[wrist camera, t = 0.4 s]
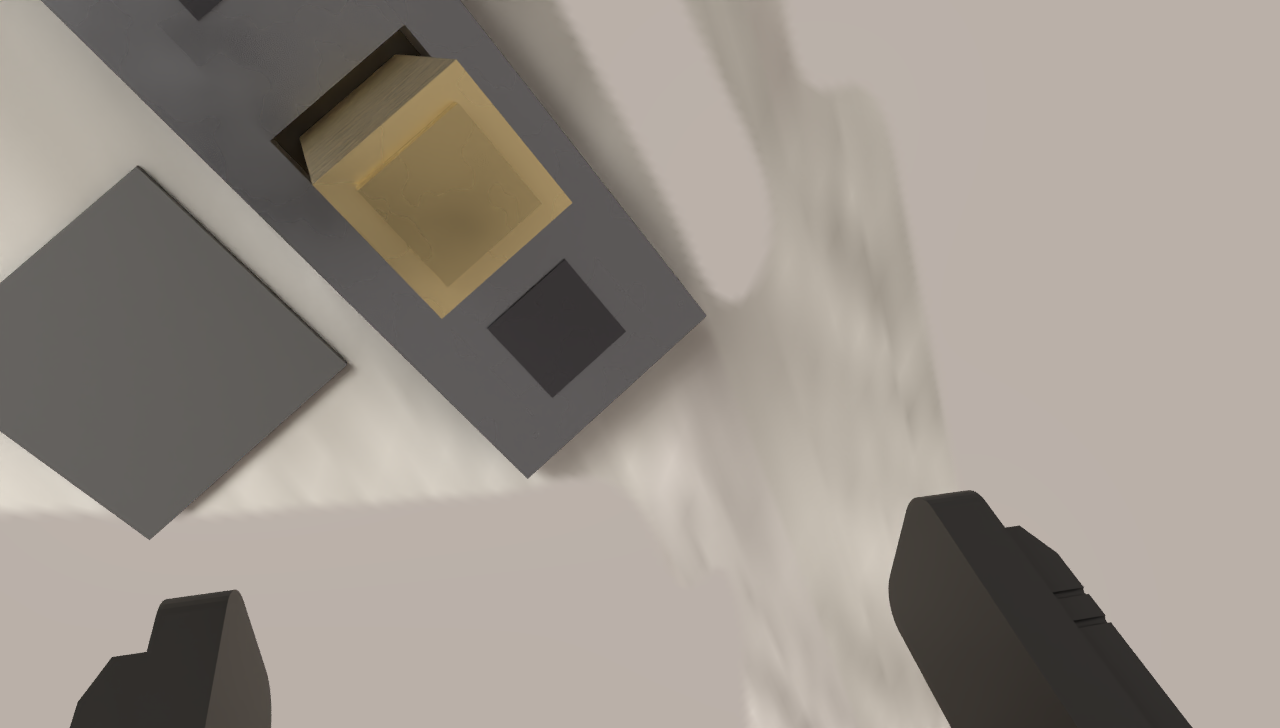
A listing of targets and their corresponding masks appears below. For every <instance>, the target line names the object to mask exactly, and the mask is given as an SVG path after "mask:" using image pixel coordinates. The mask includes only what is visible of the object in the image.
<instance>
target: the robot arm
mask: <svg viewBox="0 0 1280 728" xmlns="http://www.w3.org/2000/svg"><path fill="white" fill-rule="evenodd" d="M1083 588H1084V587H1083V586H1082V585H1081V583H1080V582H1079V581H1078V579H1077V578H1076V577H1075V576H1074V574H1073V573H1072V572H1071V570H1070V569H1069V568H1068V567H1067V565H1066V564H1065V563H1064V561H1063V560H1062V559H1061V557H1060V556H1059V555H1058V554H1057V553H1056V552H1055V551H1054V550H1052V549H1051V548H1049V547H1048V546H1046V545H1045V544H1044V543H1042V542H1041V541H1040V540H1038V539H1037V538H1036V537H1034V536H1033V535H1031V534H1030V533H1028V532H1027V531H1026V530H1025V529H1023V528H1022V527H1021V526H1014V527H1007V528H1005V527H1004V526H1003V525H1002V523H1001V522H1000V520H999V519H998V518H997V516H996V515H995V514H994V512H993V511H992V510H991V508H990V507H989V505H988V504H987V503H986V502H985V500H984V499H983V498H982V497H981V496H980V495H979V494H978V493H976V492H974V491H971V490H968V491H960V492H953V493H946V494H939V495H932V496H924V497H917V498H914V499H912V500H911V501H910V503H909V505H908V507H907V510H906V514H905V518H904V522H903V526H902V530H901V534H900V538H899V542H898V546H897V550H896V554H895V558H894V562H893V566H892V570H891V574H890V579H889V601H890V607H891V611H892V615H893V618H894V621H895V623H896V626H897V628H898V630H899V632H900V634H901V636H902V637H903V639H904V641H905V643H906V645H907V647H908V649H909V650H910V652H911V654H912V656H913V658H914V660H915V662H916V663H917V665H918V667H919V669H920V671H921V673H922V674H923V676H924V678H925V680H926V682H927V684H928V686H929V687H930V689H931V691H932V693H933V695H934V697H935V699H936V700H937V702H938V704H939V706H940V708H941V710H942V711H943V713H944V715H945V717H946V719H947V721H948V723H949V724H950V726H951V728H1192V727H1191V725H1190V724H1189V723H1188V722H1187V720H1186V719H1185V718H1184V716H1183V715H1182V714H1181V713H1180V711H1179V710H1178V709H1177V707H1176V706H1175V705H1174V703H1173V702H1172V701H1171V700H1170V698H1169V697H1168V696H1167V694H1166V693H1165V692H1164V691H1163V689H1162V688H1161V687H1160V685H1159V684H1158V683H1157V682H1156V680H1155V679H1154V678H1153V676H1152V675H1151V674H1150V673H1149V671H1148V670H1147V669H1146V668H1145V666H1144V665H1143V663H1142V662H1141V661H1140V660H1139V658H1138V657H1137V656H1136V654H1135V653H1134V652H1133V651H1132V649H1131V648H1130V647H1129V645H1128V644H1127V643H1126V642H1125V640H1124V639H1123V638H1122V636H1121V635H1120V634H1119V632H1118V631H1117V630H1116V628H1115V627H1114V626H1113V625H1112V623H1107V622H1106V620H1105V614H1104V613H1103V612H1102V611H1101V609H1100V608H1099V607H1098V605H1097V604H1096V603H1095V601H1094V600H1093V599H1092V598H1091V596H1090V595H1089V594H1085V593H1084V590H1083ZM70 728H271V695H270V687H269V681H268V676H267V672H266V669H265V666H264V663H263V660H262V657H261V654H260V650H259V647H258V644H257V641H256V638H255V635H254V632H253V629H252V626H251V623H250V620H249V617H248V613H247V611H246V607H245V604H244V601H243V599H242V596H241V594H240V593H239V591H237V590H230V591H223V592H215V593H208V594H201V595H194V596H187V597H179V598H173V599H166V600H164V601H163V602H162V603H161V604H160V606H159V609H158V611H157V615H156V618H155V622H154V626H153V630H152V634H151V638H150V641H149V645H148V649H147V652H144V653H137V654H131V655H123V656H117V657H112V658H111V659H110V661H109V662H108V663H107V665H106V666H105V667H104V669H103V670H102V671H101V672H100V674H99V675H98V677H97V678H96V679H95V680H94V682H93V683H92V684H91V686H90V687H89V688H88V690H87V691H86V692H85V694H84V695H83V696H82V697H81V699H80V700H79V701H78V703H77V707H76V710H75V713H74V716H73V719H72V723H71V726H70Z"/></svg>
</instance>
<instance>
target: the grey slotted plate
mask: <svg viewBox="0 0 1280 728" xmlns="http://www.w3.org/2000/svg"><path fill="white" fill-rule="evenodd" d="M41 1H42V2H43V3H44V4H45V5H46V6H47V7H48V8H49V9H50V10H51V11H52V12H53V13H54V14H55V15H56V16H57V17H59V18H60V19H61V20H62V21H63V22H64V23H65V24H66V25H67V26H68V27H69V28H70V29H71V30H72V31H73V32H74V33H75V34H76V35H77V36H78V37H79V38H80V39H81V40H82V41H83V42H84V43H85V44H86V45H87V46H88V47H89V48H90V49H91V50H92V51H93V52H94V53H95V54H96V55H97V56H98V57H99V58H100V59H101V60H102V61H103V62H104V63H105V64H106V65H107V66H108V67H109V68H110V69H111V70H112V71H113V72H114V73H115V74H116V75H117V76H119V77H120V78H121V79H122V80H123V81H124V82H125V83H126V84H127V85H128V86H129V87H130V88H131V89H132V90H133V91H134V92H135V93H136V94H137V95H138V96H139V97H140V98H141V99H142V100H143V101H144V102H145V103H146V104H147V105H148V106H149V107H150V108H151V109H152V110H153V111H154V112H155V113H156V114H157V115H158V116H159V117H160V118H161V119H162V120H163V121H164V122H165V123H166V124H167V125H168V126H169V127H170V128H171V129H172V130H173V131H174V132H175V133H176V134H178V135H179V136H180V137H181V138H182V139H183V140H184V141H185V142H186V143H187V144H188V145H189V146H190V147H191V148H192V149H193V150H194V151H195V152H196V153H197V154H198V155H199V156H200V157H201V158H202V159H203V160H204V161H205V162H206V163H207V164H208V165H209V166H210V167H211V168H212V169H213V170H214V171H215V172H216V173H217V174H218V175H219V176H220V177H221V178H222V179H223V180H224V181H225V182H226V183H227V184H228V185H229V186H230V187H231V188H232V189H233V190H234V191H235V192H237V193H238V194H239V195H240V196H241V197H242V198H243V199H244V200H245V201H246V202H247V203H248V204H249V205H250V206H251V207H252V208H253V209H254V210H255V211H256V212H257V213H258V214H259V215H260V216H261V217H262V218H263V219H264V220H265V221H266V222H267V223H268V224H269V225H270V226H271V227H272V228H273V229H274V230H275V231H276V232H277V233H278V234H279V235H280V236H281V237H282V238H283V239H284V240H285V241H286V242H287V243H288V244H289V245H290V246H291V247H292V248H293V249H294V250H295V251H297V252H298V253H299V254H300V255H301V256H302V257H303V258H304V259H305V260H306V261H307V262H308V263H309V264H310V265H311V266H312V267H313V268H314V269H315V270H316V271H317V272H318V273H319V274H320V275H321V276H322V277H323V278H324V279H325V280H326V281H327V282H328V283H329V284H330V285H331V286H332V287H333V288H334V289H335V290H336V291H337V292H338V293H339V294H340V295H341V296H342V297H343V298H344V299H345V300H346V301H347V302H348V303H349V304H350V305H351V306H352V307H353V308H354V309H356V310H357V311H358V312H359V313H360V314H361V315H362V316H363V317H364V318H365V319H366V320H367V321H368V322H369V323H370V324H371V325H372V326H373V327H374V328H375V329H376V330H377V331H378V332H379V333H380V334H381V335H382V336H383V337H384V338H385V339H386V340H387V341H388V342H389V343H390V344H391V345H392V346H393V347H394V348H395V349H396V350H397V351H398V352H399V353H400V354H401V355H402V356H403V357H404V358H405V359H406V360H407V361H408V362H409V363H410V364H411V365H412V366H413V367H414V368H416V369H417V370H418V371H419V372H420V373H421V374H422V375H423V376H424V377H425V378H426V379H427V380H428V381H429V382H430V383H431V384H432V385H433V386H434V387H435V388H436V389H437V390H438V391H439V392H440V393H441V394H442V395H443V396H444V397H445V398H446V399H447V400H448V401H449V402H450V403H451V404H452V405H453V406H454V407H455V408H456V409H457V410H458V411H459V412H460V413H461V414H462V415H463V416H464V417H465V418H466V419H467V420H468V421H469V422H470V423H471V424H472V425H473V426H475V427H476V428H477V429H478V430H479V431H480V432H481V433H482V434H483V435H484V436H485V437H486V438H487V439H488V440H489V441H490V442H491V443H492V444H493V445H494V446H495V447H496V448H497V449H498V450H499V451H500V452H501V453H502V454H503V455H504V456H505V457H506V458H507V459H508V460H509V461H510V462H511V463H512V464H513V465H514V466H515V467H516V468H517V469H518V470H519V471H520V472H521V473H522V474H523V475H524V476H525V477H526V478H527V479H528V478H529V477H530V476H531V475H532V474H534V473H535V472H536V471H537V470H538V469H539V468H540V467H541V466H542V465H543V464H545V463H546V462H547V461H548V460H549V459H550V458H551V457H552V456H553V455H554V454H556V453H557V452H558V451H559V450H560V449H561V448H562V447H563V446H564V445H565V444H567V443H568V442H569V441H570V440H571V439H572V438H573V437H574V436H575V435H576V434H577V433H579V432H580V431H581V430H582V429H583V428H584V427H585V426H586V425H587V424H588V423H590V422H591V421H592V420H593V419H594V418H595V417H596V416H597V415H598V414H599V413H601V412H602V411H603V410H604V409H605V408H606V407H607V406H608V405H609V404H610V403H612V402H613V401H614V400H615V399H616V398H617V397H618V396H619V395H620V394H621V393H623V392H624V391H625V390H626V389H627V388H628V387H629V386H630V385H631V384H632V383H634V382H635V381H636V380H637V379H638V378H639V377H640V376H641V375H642V374H643V373H645V372H646V371H647V370H648V369H649V368H650V367H651V366H652V365H653V364H654V363H656V362H657V361H658V360H659V359H660V358H661V357H662V356H663V355H664V354H665V353H667V352H668V351H669V350H670V349H671V348H672V347H673V346H674V345H675V344H676V343H677V342H679V341H680V340H681V339H682V338H683V337H684V336H685V335H686V334H687V333H688V332H690V331H691V330H692V329H693V328H694V327H695V326H696V325H697V324H698V323H699V322H701V321H702V320H703V319H704V318H705V317H706V314H705V313H704V312H703V310H702V309H701V308H700V307H699V305H698V304H697V303H696V301H695V300H694V299H693V298H692V296H691V295H690V294H689V292H688V291H687V290H686V289H685V287H684V286H683V285H682V284H681V282H680V281H679V280H678V278H677V277H676V276H675V275H674V273H673V272H672V271H671V269H670V268H669V267H668V266H667V264H666V263H665V262H664V261H663V259H662V258H661V257H660V255H659V254H658V253H657V252H656V250H655V249H654V248H653V246H652V245H651V244H650V243H649V241H648V240H647V239H646V237H645V236H644V235H643V234H642V232H641V231H640V230H639V229H638V227H637V226H636V225H635V223H634V222H633V221H632V220H631V218H630V217H629V216H628V214H627V213H626V212H625V211H624V209H623V208H622V207H621V206H620V204H619V203H618V202H617V200H616V199H615V198H614V197H613V195H612V194H611V193H610V191H609V190H608V189H607V188H606V186H605V185H604V184H603V182H602V181H601V180H600V179H599V177H598V176H597V175H596V174H595V172H594V171H593V170H592V168H591V167H590V166H589V165H588V163H587V162H586V161H585V159H584V158H583V157H582V156H581V154H580V153H579V152H578V151H577V149H576V148H575V147H574V145H573V144H572V143H571V142H570V140H569V139H568V138H567V136H566V135H565V134H564V133H563V131H562V130H561V129H560V127H559V126H558V125H557V124H556V122H555V121H554V120H553V119H552V117H551V116H550V115H549V113H548V112H547V111H546V110H545V108H544V107H543V106H542V104H541V103H540V102H539V101H538V99H537V98H536V97H535V96H534V94H533V93H532V92H531V90H530V89H529V88H528V87H527V85H526V84H525V83H524V81H523V80H522V79H521V78H520V76H519V75H518V74H517V72H516V71H515V70H514V69H513V67H512V66H511V65H510V64H509V62H508V61H507V60H506V58H505V57H504V56H503V55H502V53H501V52H500V51H499V49H498V48H497V47H496V46H495V44H494V43H493V42H492V41H491V39H490V38H489V37H488V35H487V34H486V33H485V32H484V30H483V29H482V28H481V26H480V25H479V24H478V23H477V21H476V20H475V19H474V17H473V16H472V15H471V14H470V12H469V11H468V10H467V9H466V7H465V6H464V5H463V3H462V2H461V1H460V0H41ZM399 29H400V30H401V32H402V33H403V34H404V35H405V36H406V38H407V39H408V40H409V41H410V43H411V44H412V45H413V46H414V47H415V49H416V50H417V51H418V52H419V53H420V55H421V56H422V57H433V58H445V59H457V61H458V62H459V63H460V64H461V66H462V67H463V68H464V69H465V71H466V72H467V73H468V74H469V76H470V77H471V78H472V79H473V80H474V82H475V83H476V84H477V85H478V87H479V88H480V89H481V90H482V92H483V93H484V94H485V95H486V96H487V98H488V99H489V100H490V101H491V103H492V104H493V105H494V106H495V108H496V109H497V110H498V111H499V113H500V114H501V115H502V116H503V117H504V119H505V120H506V121H507V122H508V124H509V125H510V126H511V127H512V129H513V130H514V131H515V132H516V133H517V135H518V136H519V137H520V138H521V140H522V141H523V142H524V143H525V145H526V146H527V147H528V148H529V150H530V151H531V152H532V153H533V154H534V156H535V157H536V158H537V159H538V161H539V162H540V163H541V164H542V166H543V167H544V168H545V169H546V170H547V172H548V173H549V174H550V175H551V177H552V178H553V179H554V180H555V182H556V183H557V184H558V185H559V187H560V188H561V189H562V190H563V191H564V193H565V194H566V195H567V196H568V198H569V199H570V200H571V201H572V204H571V205H569V206H568V207H567V208H566V209H565V210H564V211H563V212H562V213H560V214H559V215H558V216H557V217H556V218H555V219H554V220H553V221H551V222H550V223H549V224H548V225H547V226H546V227H545V228H544V229H542V230H541V231H540V232H539V233H538V234H537V235H536V236H535V237H533V238H532V239H531V240H530V241H529V242H528V243H527V244H526V245H525V246H523V247H522V248H521V249H520V250H519V251H518V252H517V253H516V254H514V255H513V256H512V257H511V258H510V259H509V260H508V261H507V262H505V263H504V264H503V265H502V266H501V267H500V268H499V269H498V270H496V271H495V272H494V273H493V274H492V275H491V276H490V277H489V278H487V279H486V280H485V281H484V282H483V283H482V284H481V285H480V286H478V287H477V288H476V289H475V290H474V291H473V292H472V293H471V294H469V295H468V296H467V297H466V298H465V299H464V300H463V301H462V302H460V303H459V304H458V305H457V306H456V307H455V308H454V309H453V310H451V311H450V312H449V313H448V314H447V315H446V316H445V317H444V318H442V319H441V318H440V317H439V316H438V314H437V313H436V312H435V311H434V310H433V309H432V308H431V307H430V306H429V305H428V304H427V303H426V302H425V301H424V300H423V299H422V298H421V297H420V296H419V295H418V294H417V293H416V292H415V291H414V290H413V289H412V288H411V286H410V285H409V284H408V283H407V282H406V281H405V280H404V279H403V278H402V277H401V276H400V275H399V274H398V273H397V272H396V271H395V270H394V269H393V268H392V267H391V266H390V265H389V264H388V263H387V262H386V261H385V260H384V258H383V257H382V256H381V255H380V254H379V253H378V252H377V251H376V250H375V249H374V248H373V247H372V246H371V245H370V244H369V243H368V242H367V241H366V240H365V239H364V238H363V237H362V236H361V235H360V234H359V233H358V232H357V231H356V229H355V228H354V227H353V226H352V225H351V224H350V223H349V222H348V221H347V220H346V219H345V218H344V217H343V216H342V215H341V214H340V213H339V212H338V211H337V210H336V209H335V208H334V207H333V206H332V205H331V204H330V203H329V201H328V200H327V199H326V198H325V197H324V196H323V195H322V194H321V193H320V192H319V191H318V190H317V189H316V188H315V187H314V186H313V185H312V182H311V178H310V176H309V175H308V174H307V173H306V172H305V171H304V170H303V169H302V168H301V167H300V166H299V164H298V163H297V162H296V161H295V160H294V159H293V158H292V157H291V156H290V155H289V154H288V153H287V152H286V151H285V150H284V149H283V148H282V147H281V146H280V145H279V144H278V143H277V142H276V141H275V139H274V137H275V136H276V135H277V134H278V133H280V132H281V131H282V130H283V129H284V128H285V127H286V126H288V125H289V124H290V123H291V122H292V121H293V120H295V119H296V118H297V117H298V116H299V115H300V114H302V113H303V112H304V111H305V110H306V109H307V108H308V107H310V106H311V105H312V104H313V103H314V102H315V101H317V100H318V99H319V98H320V97H321V96H322V95H324V94H325V93H326V92H327V91H328V90H329V89H330V88H332V87H333V86H334V85H335V84H336V83H337V82H339V81H340V80H341V79H342V78H343V77H344V76H346V75H347V74H348V73H349V72H350V71H351V70H353V69H354V68H355V67H356V66H357V65H358V64H359V63H361V62H362V61H363V60H364V59H365V58H366V57H368V56H369V55H370V54H371V53H372V52H373V51H375V50H376V49H377V48H378V47H379V46H380V45H381V44H383V43H384V42H385V41H386V40H387V39H388V38H390V37H391V36H392V35H393V34H394V33H395V32H397V31H398V30H399Z"/></svg>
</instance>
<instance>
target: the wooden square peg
mask: <svg viewBox="0 0 1280 728" xmlns="http://www.w3.org/2000/svg"><path fill="white" fill-rule="evenodd" d="M299 138H300V141H301V145H302V149H303V152H304V156H305V160H306V163H307V167H308V171H309V174H310V178H311V182H312V185H313V186H314V187H315V188H316V189H317V190H318V191H319V192H320V193H321V194H322V195H323V196H324V197H325V198H326V199H327V200H328V201H329V203H330V204H331V205H332V206H333V207H334V208H335V209H336V210H337V211H338V212H339V213H340V214H341V215H342V216H343V217H344V218H345V219H346V220H347V221H348V222H349V223H350V224H351V225H352V226H353V227H354V228H355V229H356V231H357V232H358V233H359V234H360V235H361V236H362V237H363V238H364V239H365V240H366V241H367V242H368V243H369V244H370V245H371V246H372V247H373V248H374V249H375V250H376V251H377V252H378V253H379V254H380V255H381V256H382V257H383V258H384V260H385V261H386V262H387V263H388V264H389V265H390V266H391V267H392V268H393V269H394V270H395V271H396V272H397V273H398V274H399V275H400V276H401V277H402V278H403V279H404V280H405V281H406V282H407V283H408V284H409V285H410V286H411V288H412V289H413V290H414V291H415V292H416V293H417V294H418V295H419V296H420V297H421V298H422V299H423V300H424V301H425V302H426V303H427V304H428V305H429V306H430V307H431V308H432V309H433V310H434V311H435V312H436V313H437V314H438V316H439V317H440V318H441V319H442V318H444V317H445V316H446V315H447V314H448V313H449V312H450V311H451V310H453V309H454V308H455V307H456V306H457V305H458V304H459V303H460V302H462V301H463V300H464V299H465V298H466V297H467V296H468V295H469V294H471V293H472V292H473V291H474V290H475V289H476V288H477V287H478V286H480V285H481V284H482V283H483V282H484V281H485V280H486V279H487V278H489V277H490V276H491V275H492V274H493V273H494V272H495V271H496V270H498V269H499V268H500V267H501V266H502V265H503V264H504V263H505V262H507V261H508V260H509V259H510V258H511V257H512V256H513V255H514V254H516V253H517V252H518V251H519V250H520V249H521V248H522V247H523V246H525V245H526V244H527V243H528V242H529V241H530V240H531V239H532V238H533V237H535V236H536V235H537V234H538V233H539V232H540V231H541V230H542V229H544V228H545V227H546V226H547V225H548V224H549V223H550V222H551V221H553V220H554V219H555V218H556V217H557V216H558V215H559V214H560V213H562V212H563V211H564V210H565V209H566V208H567V207H568V206H569V205H571V204H572V201H571V200H570V199H569V198H568V196H567V195H566V194H565V193H564V191H563V190H562V189H561V188H560V187H559V185H558V184H557V183H556V182H555V180H554V179H553V178H552V177H551V175H550V174H549V173H548V172H547V170H546V169H545V168H544V167H543V166H542V164H541V163H540V162H539V161H538V159H537V158H536V157H535V156H534V154H533V153H532V152H531V151H530V150H529V148H528V147H527V146H526V145H525V143H524V142H523V141H522V140H521V138H520V137H519V136H518V135H517V133H516V132H515V131H514V130H513V129H512V127H511V126H510V125H509V124H508V122H507V121H506V120H505V119H504V117H503V116H502V115H501V114H500V113H499V111H498V110H497V109H496V108H495V106H494V105H493V104H492V103H491V101H490V100H489V99H488V98H487V96H486V95H485V94H484V93H483V92H482V90H481V89H480V88H479V87H478V85H477V84H476V83H475V82H474V80H473V79H472V78H471V77H470V76H469V74H468V73H467V72H466V71H465V69H464V68H463V67H462V66H461V64H460V63H459V62H458V61H457V59H445V58H433V57H422V56H410V55H398V54H395V55H394V56H393V57H392V58H390V59H389V60H388V61H387V62H386V63H385V64H384V65H382V66H381V67H380V68H379V69H378V70H377V71H375V72H374V73H373V74H372V75H371V76H370V77H368V78H367V79H366V80H365V81H364V82H363V83H362V84H360V85H359V86H358V87H357V88H356V89H355V90H353V91H352V92H351V93H350V94H349V95H348V96H347V97H345V98H344V99H343V100H342V101H341V102H340V103H338V104H337V105H336V106H335V107H334V108H333V109H331V110H330V111H329V112H328V113H327V114H326V115H325V116H323V117H322V118H321V119H320V120H319V121H318V122H316V123H315V124H314V125H313V126H312V127H311V128H310V129H308V130H307V131H306V132H305V133H304V134H303V135H301V136H300V137H299Z"/></svg>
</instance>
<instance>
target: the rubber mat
mask: <svg viewBox="0 0 1280 728" xmlns="http://www.w3.org/2000/svg"><path fill="white" fill-rule="evenodd" d="M346 365H347V362H346V361H345V360H344V359H343V358H342V357H341V356H340V355H339V354H338V353H337V352H336V351H334V350H333V349H332V348H331V347H330V346H329V345H328V344H327V343H326V342H325V341H324V340H323V339H322V338H321V337H320V336H319V335H317V334H316V333H315V332H314V331H313V330H312V329H311V328H310V327H309V326H308V325H307V324H306V323H305V322H304V321H303V320H302V319H300V318H299V317H298V316H297V315H296V314H295V313H294V312H293V311H292V310H291V309H290V308H289V307H288V306H287V305H286V304H285V303H284V302H282V301H281V300H280V299H279V298H278V297H277V296H276V295H275V294H274V293H273V292H272V291H271V290H270V289H269V288H268V287H267V286H265V285H264V284H263V283H262V282H261V281H260V280H259V279H258V278H257V277H256V276H255V275H254V274H253V273H252V272H251V271H250V270H249V269H247V268H246V267H245V266H244V265H243V264H242V263H241V262H240V261H239V260H238V259H237V258H236V257H235V256H234V255H233V254H232V253H230V252H229V251H228V250H227V249H226V248H225V247H224V246H223V245H222V244H221V243H220V242H219V241H218V240H217V239H216V238H215V237H213V236H212V235H211V234H210V233H209V232H208V231H207V230H206V229H205V228H204V227H203V226H202V225H201V224H200V223H199V222H198V221H197V220H195V219H194V218H193V217H192V216H191V215H190V214H189V213H188V212H187V211H186V210H185V209H184V208H183V207H182V206H181V205H180V204H178V203H177V202H176V201H175V200H174V199H173V198H172V197H171V196H170V195H169V194H168V193H167V192H166V191H165V190H164V189H163V188H162V187H160V186H159V185H158V184H157V183H156V182H155V181H154V180H153V179H152V178H151V177H150V176H149V175H148V174H147V173H146V172H145V171H143V170H142V169H141V168H140V167H139V166H137V167H135V168H134V169H133V170H132V171H131V172H130V173H128V174H127V175H126V176H125V177H124V178H123V179H121V180H120V181H119V182H118V183H117V184H116V185H114V186H113V187H112V188H111V189H110V190H109V191H107V192H106V193H105V194H104V195H103V196H102V197H100V198H99V199H98V200H97V201H96V202H95V203H93V204H92V205H91V206H90V207H89V208H88V209H86V210H85V211H84V212H83V213H82V214H81V215H79V216H78V217H77V218H76V219H75V220H74V221H72V222H71V223H70V224H69V225H68V226H67V227H65V228H64V229H63V230H62V231H61V232H60V233H58V234H57V235H56V236H55V237H54V238H53V239H51V240H50V241H49V242H48V243H47V244H46V245H44V246H43V247H42V248H41V249H40V250H38V251H37V252H36V253H35V254H34V255H33V256H31V257H30V258H29V259H28V260H27V261H26V262H24V263H23V264H22V265H21V266H20V267H19V268H17V269H16V270H15V271H14V272H13V273H12V274H10V275H9V276H8V277H7V278H6V279H5V280H3V281H2V282H1V283H0V431H1V432H2V433H3V434H5V435H6V436H8V437H9V438H10V439H12V440H13V441H14V442H16V443H17V444H19V445H20V446H21V447H23V448H24V449H25V450H27V451H28V452H30V453H31V454H32V455H34V456H35V457H36V458H38V459H39V460H40V461H42V462H43V463H45V464H46V465H47V466H49V467H50V468H51V469H53V470H54V471H56V472H57V473H58V474H60V475H61V476H62V477H64V478H65V479H67V480H68V481H69V482H71V483H72V484H73V485H75V486H76V487H78V488H79V489H80V490H82V491H83V492H84V493H86V494H87V495H88V496H90V497H91V498H93V499H94V500H95V501H97V502H98V503H99V504H101V505H102V506H104V507H105V508H106V509H108V510H109V511H110V512H112V513H113V514H115V515H116V516H117V517H119V518H120V519H121V520H123V521H124V522H126V523H127V524H128V525H130V526H131V527H133V528H134V529H135V530H137V531H138V532H139V533H141V534H142V535H143V536H145V537H146V538H148V539H149V540H150V539H151V538H152V537H154V535H156V534H157V533H158V532H159V531H160V530H161V529H163V528H164V527H165V526H166V525H167V524H168V523H169V522H170V521H172V520H173V519H174V518H175V517H176V516H177V515H178V514H179V513H181V512H182V511H183V510H184V509H185V508H186V507H187V506H189V505H190V504H191V503H192V502H193V501H194V500H195V499H196V498H198V497H199V496H200V495H201V494H202V493H203V492H204V491H205V490H207V489H208V488H209V487H210V486H211V485H212V484H213V483H214V482H216V481H217V480H218V479H219V478H220V477H221V476H222V475H223V474H225V473H226V472H227V471H228V470H229V469H230V468H231V467H232V466H234V465H235V464H236V463H237V462H238V461H239V460H240V459H241V458H243V457H244V456H245V455H246V454H247V453H248V452H249V451H251V450H252V449H253V448H254V447H255V446H256V445H257V444H258V443H260V442H261V441H262V440H263V439H264V438H265V437H266V436H267V435H269V434H270V433H271V432H272V431H273V430H274V429H275V428H276V427H278V426H279V425H280V424H281V423H282V422H283V421H284V420H285V419H287V418H288V417H289V416H290V415H291V414H292V413H293V412H294V411H296V410H297V409H298V408H299V407H300V406H301V405H302V404H303V403H305V402H306V401H307V400H308V399H309V398H310V397H311V396H313V395H314V394H315V393H316V392H317V391H318V390H319V389H320V388H322V387H323V386H324V385H325V384H326V383H327V382H328V381H329V380H331V379H332V378H333V377H334V376H335V375H336V374H337V373H338V372H340V371H341V370H342V369H343V368H344V367H345V366H346Z"/></svg>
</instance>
